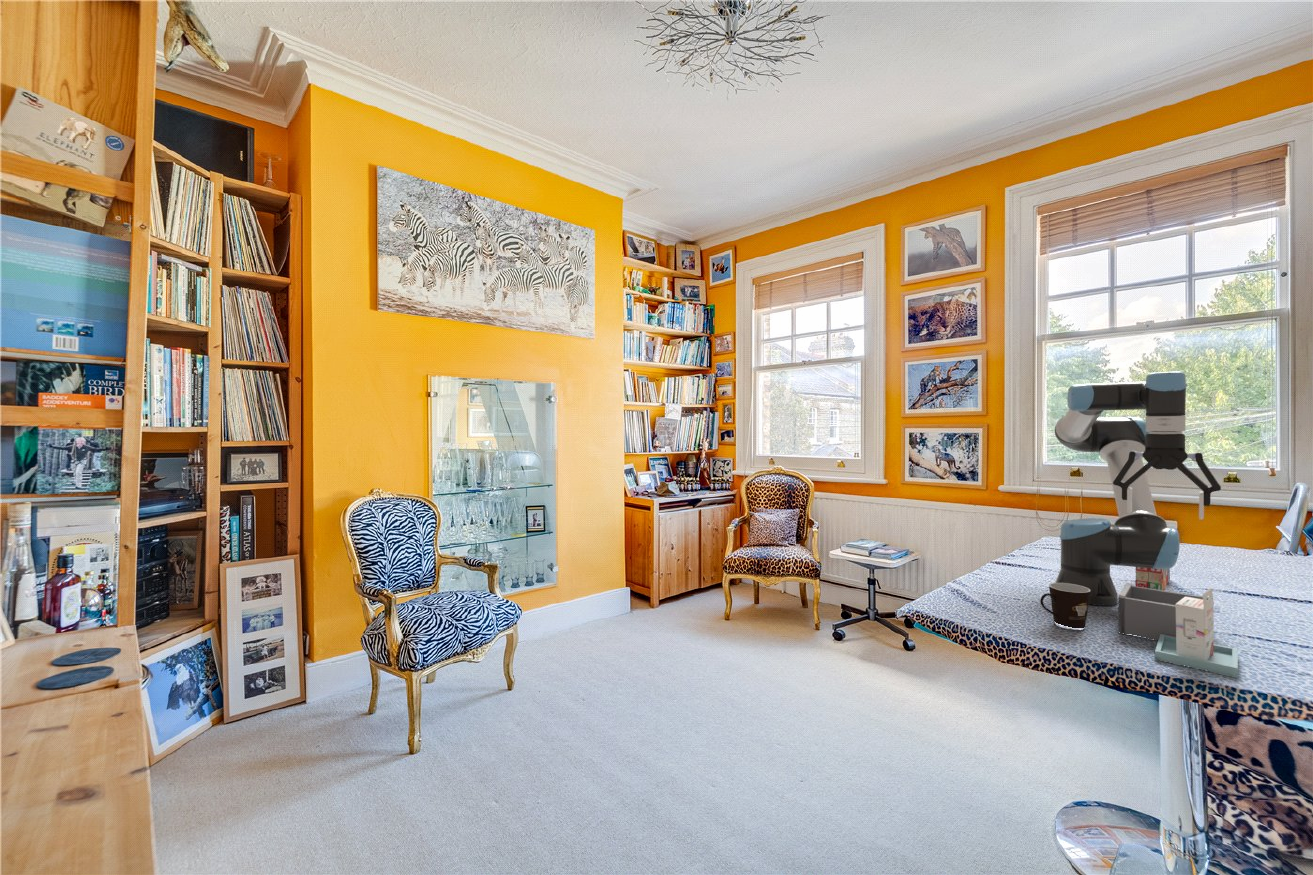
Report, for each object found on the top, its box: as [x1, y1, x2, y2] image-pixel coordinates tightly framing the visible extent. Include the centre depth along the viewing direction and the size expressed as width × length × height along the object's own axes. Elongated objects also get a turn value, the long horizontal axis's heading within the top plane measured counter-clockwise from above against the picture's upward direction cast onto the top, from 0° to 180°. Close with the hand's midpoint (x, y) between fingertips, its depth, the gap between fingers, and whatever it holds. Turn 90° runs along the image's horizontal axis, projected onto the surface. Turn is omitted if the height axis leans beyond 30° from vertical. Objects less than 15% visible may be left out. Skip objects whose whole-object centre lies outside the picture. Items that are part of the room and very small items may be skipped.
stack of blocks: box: [1134, 567, 1171, 591], centre depth 177 cm, size 21×6×12 cm, turn 133°
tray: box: [1154, 634, 1239, 679], centre depth 123 cm, size 13×14×2 cm
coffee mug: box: [1039, 582, 1091, 628], centre depth 144 cm, size 12×9×10 cm
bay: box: [1117, 582, 1209, 641], centre depth 137 cm, size 16×14×10 cm
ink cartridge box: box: [1175, 587, 1215, 661], centre depth 123 cm, size 9×5×15 cm, turn 126°
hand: (1164, 515), depth 142 cm, fingers open, 13 cm apart
